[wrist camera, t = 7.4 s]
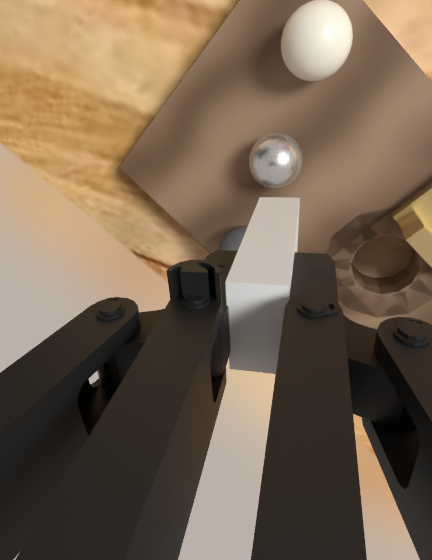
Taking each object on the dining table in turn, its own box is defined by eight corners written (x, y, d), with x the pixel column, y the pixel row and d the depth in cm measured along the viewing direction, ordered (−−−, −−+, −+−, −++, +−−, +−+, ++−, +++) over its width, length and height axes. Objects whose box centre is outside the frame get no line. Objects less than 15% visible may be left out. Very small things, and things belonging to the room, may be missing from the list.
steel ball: (243, 156, 27) (233, 166, 24) (279, 117, 25) (272, 123, 22) (277, 191, 27) (271, 205, 25) (314, 155, 26) (313, 166, 23)
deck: (132, 160, 32) (118, 167, 30) (299, -65, 23) (296, -79, 21) (346, 364, 36) (348, 383, 34) (559, 241, 27) (579, 256, 25)
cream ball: (271, 47, 24) (262, 44, 20) (320, -13, 22) (318, -27, 18) (313, 94, 24) (311, 98, 21) (365, 40, 22) (371, 35, 19)
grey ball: (214, 240, 30) (201, 260, 27) (248, 208, 29) (238, 225, 25) (249, 273, 31) (240, 297, 28) (284, 243, 29) (278, 265, 26)
